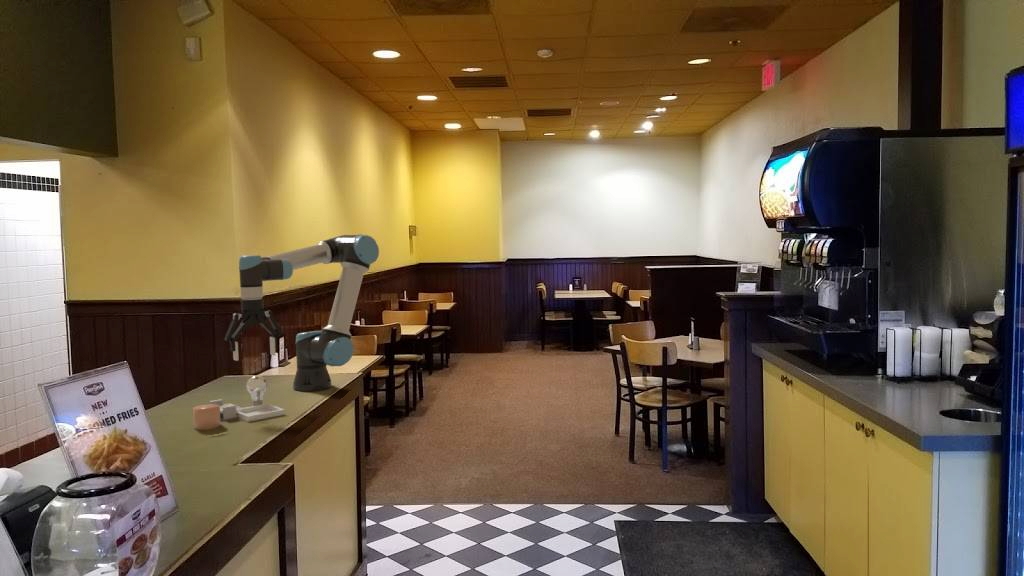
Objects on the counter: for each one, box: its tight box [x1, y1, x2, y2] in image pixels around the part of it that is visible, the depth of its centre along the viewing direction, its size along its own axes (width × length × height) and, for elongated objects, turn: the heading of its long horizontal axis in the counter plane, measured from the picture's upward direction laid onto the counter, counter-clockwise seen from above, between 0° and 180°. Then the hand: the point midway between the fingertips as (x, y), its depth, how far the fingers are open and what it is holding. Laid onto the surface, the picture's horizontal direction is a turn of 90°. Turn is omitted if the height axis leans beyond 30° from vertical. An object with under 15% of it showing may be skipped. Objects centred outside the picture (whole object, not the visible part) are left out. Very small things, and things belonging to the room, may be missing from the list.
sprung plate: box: [220, 403, 242, 414], centre depth 243 cm, size 9×9×1 cm
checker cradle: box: [208, 398, 239, 422], centre depth 243 cm, size 10×14×5 cm
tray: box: [237, 403, 286, 423], centre depth 243 cm, size 13×13×2 cm
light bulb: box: [246, 375, 268, 406], centre depth 255 cm, size 7×7×12 cm
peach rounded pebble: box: [192, 403, 222, 431], centre depth 229 cm, size 8×8×7 cm
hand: (254, 357), depth 254 cm, fingers open, 13 cm apart
